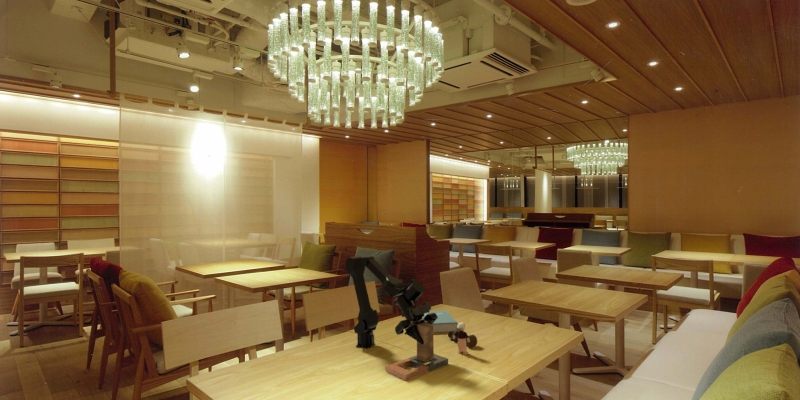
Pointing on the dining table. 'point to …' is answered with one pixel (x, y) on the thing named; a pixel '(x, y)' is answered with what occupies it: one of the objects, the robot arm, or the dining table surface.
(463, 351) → the grandmother figurine
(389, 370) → the grey-tan flat frame piece
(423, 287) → the robot arm
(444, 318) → the book
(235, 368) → the dining table surface
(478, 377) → the dining table surface
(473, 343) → the bolt
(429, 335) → the walnut post
